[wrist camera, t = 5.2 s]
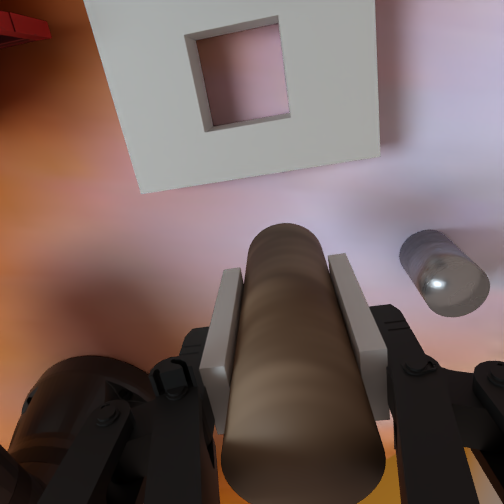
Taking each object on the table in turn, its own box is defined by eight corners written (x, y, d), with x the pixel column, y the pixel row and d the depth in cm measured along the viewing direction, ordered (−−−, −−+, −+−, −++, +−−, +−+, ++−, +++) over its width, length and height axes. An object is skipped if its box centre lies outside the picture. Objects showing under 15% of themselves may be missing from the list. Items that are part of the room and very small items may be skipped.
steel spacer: (399, 278, 31) (425, 320, 26) (398, 233, 30) (425, 268, 24) (450, 272, 31) (487, 313, 25) (452, 226, 29) (492, 260, 24)
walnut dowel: (254, 295, 21) (237, 521, 10) (241, 229, 20) (205, 412, 9) (326, 286, 21) (388, 511, 10) (319, 217, 19) (382, 395, 8)
